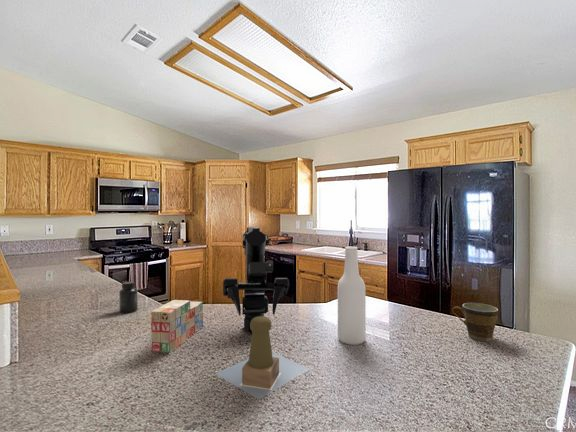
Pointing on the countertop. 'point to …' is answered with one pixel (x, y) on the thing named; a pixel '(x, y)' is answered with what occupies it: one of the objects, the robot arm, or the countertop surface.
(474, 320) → the ceramic cup
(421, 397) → the countertop surface
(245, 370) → the walnut block
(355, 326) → the alcohol
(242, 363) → the mat
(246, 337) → the countertop surface
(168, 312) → the stack of blocks
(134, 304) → the supplement bottle
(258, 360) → the olive pawn
